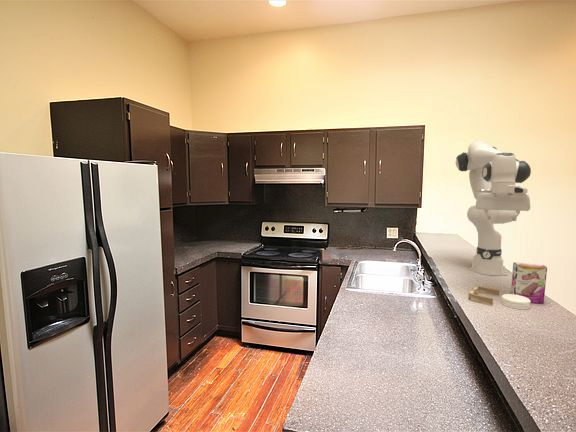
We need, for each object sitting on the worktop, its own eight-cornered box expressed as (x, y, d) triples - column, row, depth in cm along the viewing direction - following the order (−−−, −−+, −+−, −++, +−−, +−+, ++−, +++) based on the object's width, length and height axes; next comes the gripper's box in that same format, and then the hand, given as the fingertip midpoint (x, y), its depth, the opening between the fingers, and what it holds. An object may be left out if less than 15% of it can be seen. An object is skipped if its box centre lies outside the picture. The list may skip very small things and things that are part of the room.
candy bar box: (513, 301, 138) (516, 264, 136) (509, 297, 143) (512, 261, 141) (544, 304, 134) (547, 266, 133) (539, 300, 139) (542, 264, 137)
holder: (476, 291, 150) (476, 285, 150) (499, 296, 144) (499, 290, 144) (467, 300, 139) (468, 293, 139) (492, 305, 133) (492, 299, 133)
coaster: (522, 302, 138) (523, 294, 137) (535, 311, 128) (535, 302, 128) (496, 300, 140) (497, 292, 139) (507, 309, 130) (508, 300, 130)
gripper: (474, 189, 145) (473, 219, 146) (531, 189, 132) (529, 222, 133) (477, 189, 150) (475, 218, 151) (531, 189, 137) (529, 221, 138)
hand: (501, 220), depth 142 cm, fingers open, 8 cm apart
